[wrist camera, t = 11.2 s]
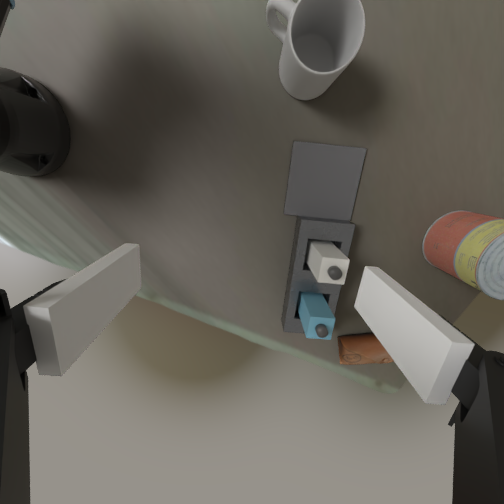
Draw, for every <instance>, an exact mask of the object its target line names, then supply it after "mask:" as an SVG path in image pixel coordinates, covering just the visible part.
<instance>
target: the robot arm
mask: <svg viewBox="0 0 504 504" xmlns="http://www.w3.org/2000/svg"><path fill="white" fill-rule="evenodd" d="M14 7H15V1H14V0H0V36H1V33H2V31H3V28H4V25H5V22H6V20H7V17H8V14H9V11H10V9H12V10H13V9H14ZM69 146H70V132H69V126H68V122H67V119H66V117H65V114H64V112H63V110H62V108H61V106H60V105H59V103H58V102H57V100H56V99H55V98H54V96H53V95H52V94H51V93H50V92H49V91H48V90H47V89H46V88H45V87H44V86H43V85H41V84H40V83H39V82H37V81H35V80H34V79H32V78H30V77H28V76H25V75H23V74H21V73H18V72H16V71H13V70H10V69H6V68H1V67H0V171H3V172H6V173H10V174H13V175H19V176H40V175H45V174H49V173H51V172H53V171H54V170H56V169H57V168H58V167H60V165H61V164H62V163H63V162H64V160H65V158H66V156H67V154H68V151H69ZM140 289H141V269H140V249H139V244H130V243H125V244H123V245H122V246H120V247H118V248H117V249H115V250H113V251H112V252H110V253H109V254H107V255H105V256H104V257H102V258H100V259H99V260H97V261H96V262H94V263H92V264H91V265H89V266H87V267H86V268H84V269H83V270H81V271H79V272H78V273H76V274H74V275H73V276H71V277H70V278H68V279H64V280H62V281H59V282H56V283H53V284H51V285H50V286H48V287H46V288H45V289H43V291H40V292H38V293H37V294H35V295H34V296H31V297H30V298H28V299H26V300H24V301H23V302H21V303H19V304H18V305H16V306H14V307H13V308H11V309H10V305H9V301H8V298H7V293H6V292H5V290H3V289H0V504H30V466H29V465H30V462H29V405H28V376H27V372H26V370H27V369H28V368H29V367H30V366H31V365H32V364H33V363H34V362H35V361H36V363H37V368H38V372H39V375H51V376H62V375H63V374H64V373H65V372H66V371H67V370H68V369H69V368H70V366H71V365H72V364H73V363H74V362H75V361H76V360H77V358H78V357H79V356H80V355H81V354H82V353H83V352H84V351H85V350H86V349H87V348H88V346H89V345H90V344H91V343H92V342H93V341H94V340H95V339H96V338H97V336H98V335H99V334H100V333H101V332H102V331H103V330H104V329H105V327H106V326H107V325H108V324H109V323H110V322H111V321H112V320H113V318H115V316H116V315H117V314H118V313H119V312H120V311H121V310H122V309H123V308H124V306H125V305H126V304H127V303H128V302H129V301H130V300H131V299H132V298H133V297H134V295H135V294H136V293H137V292H138V291H139V290H140ZM354 307H355V308H356V310H357V311H358V313H359V314H360V315H361V317H362V318H363V319H364V321H365V322H366V323H367V325H368V326H369V328H370V329H371V330H372V332H373V333H374V334H375V336H376V337H377V338H378V340H379V341H380V342H381V344H382V345H383V347H384V348H385V349H386V351H387V352H388V353H389V355H390V356H391V357H392V359H393V360H394V362H395V363H396V364H397V366H398V367H399V368H400V370H401V371H402V372H403V374H404V375H405V377H406V378H407V379H408V381H409V382H410V383H411V385H412V386H413V387H414V389H415V390H416V392H417V393H418V394H419V396H420V397H421V398H422V400H423V401H424V402H425V403H426V404H440V405H445V404H446V402H447V400H448V398H449V396H450V394H451V392H452V393H453V394H454V395H455V396H456V397H457V398H458V399H459V400H460V402H459V404H458V406H457V408H456V410H455V412H454V414H453V416H452V417H451V419H450V421H449V423H448V425H450V426H452V425H453V424H454V423H455V444H454V445H455V447H454V472H453V473H454V474H453V501H452V504H504V354H503V353H500V352H496V351H486V350H484V349H483V348H482V347H480V346H479V345H478V344H477V343H475V342H474V341H473V340H471V339H470V338H469V337H468V336H466V335H465V334H464V333H463V332H460V330H459V329H457V328H456V327H455V326H452V324H451V323H450V322H449V321H447V320H446V319H445V318H444V317H442V316H440V315H438V314H437V313H435V312H434V311H433V310H431V309H430V308H429V307H428V306H426V305H425V304H424V303H423V302H421V301H420V300H419V299H417V298H416V297H415V296H414V295H412V294H411V293H410V292H409V291H407V290H406V289H405V288H404V287H402V286H401V285H400V284H399V283H397V282H396V281H395V280H394V279H392V278H391V277H390V276H389V275H387V274H386V273H385V272H384V271H382V270H381V269H380V268H379V267H372V266H365V269H364V272H363V276H362V280H361V283H360V287H359V291H358V294H357V298H356V301H355V305H354Z"/></svg>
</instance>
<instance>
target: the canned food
mask: <svg viewBox="0 0 504 504" xmlns="http://www.w3.org/2000/svg"><path fill="white" fill-rule="evenodd" d="M422 250H423V254H424V257H425V259H426V260H427V261H428V262H429V263H430V264H431V265H432V266H434V267H437V268H439V269H441V270H443V271H445V272H447V273H448V274H450V275H452V276H454V277H456V278H458V279H460V280H461V281H463V282H465V283H467V284H469V285H471V286H473V287H474V288H476V289H478V290H480V291H482V292H484V293H485V294H486V295H488V296H490V297H492V298H494V299H498V300H504V219H503V218H498V217H493V216H488V215H483V214H478V213H473V212H470V211H464V210H459V211H453V212H450V213H447V214H445V215H443V216H442V217H440V218H439V219H437V220H436V221H435V222H434V223H433V224H432V225H431V226H430V227H429V229H428V230H427V232H426V234H425V236H424V239H423V244H422Z"/></svg>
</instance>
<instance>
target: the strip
mask: <svg viewBox="0 0 504 504" xmlns="http://www.w3.org/2000/svg"><path fill="white" fill-rule="evenodd" d="M354 229H355V224H353V223H352V222H350V221H348V220H339V219H329V218H318V217H308V216H297V221H296V228H295V234H294V241H293V247H292V254H291V260H290V267H289V273H288V280H287V286H286V293H285V299H284V306H283V312H282V319H281V320H282V326H283V332H294V333H305V332H304V329H303V325H302V322H301V319H300V316H299V313H298V309H297V306H296V305H297V299H298V293H299V291H301V292H312V293H322V295H323V297H324V298H325V300H326V302H327V304H328V306H329V308H330V310H331V311H332V313H333V315H334V314H335V310H336V306H337V302H338V297H339V293H340V289H341V284H331V283H320V282H317V280H316V278H315V277H314V275H313V273H312V271H311V269H310V268H309V266H308V264H307V262H306V261H305V254H306V248H307V243H308V239H317V240H328V241H331V242H332V243H333V244H334V245H335V246H336V247H337V248H338V249H339V250H340V251H341V252H342V253H343V254H344V255H345V256H346V257H348V254H349V250H350V246H351V242H352V237H353V233H354Z"/></svg>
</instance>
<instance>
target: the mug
mask: <svg viewBox="0 0 504 504" xmlns="http://www.w3.org/2000/svg"><path fill="white" fill-rule="evenodd" d="M276 10H277V11H278V12H280V13H281V14H282V15H283V16H284V17H285V18H286V19H287V21H288V26H287V27H286V26H285V25H284V24H282V23H281V21H280V20H279V19H278V17H277V15H276ZM266 20H267V24H268V27H269V28H270V30H271V31H272V33H273V34H274V35H275V36H276V37H277V38H278V39H280V40H281V41H282V42H283V48H282V53H281V57H280V62H279V76H280V80H281V83H282V85H283V87H284V89H285V90H286V91H287V92H288V93H289V94H290V95H291V96H292V97H294V98H296V99H300V100H311V99H314V98H316V97H318V96H320V95H321V94H323V93H324V92H325V91H326V90H327V89H328V88H329V86H330V85H331V84H332V83H333V82H334V81H335V79H336V78H337V77H338V76H339V75H340V74H341V73H342V72H343V71H344V70H345V69H346V67H347V66H348V65H349V64H350V63H351V62H352V60H353V59H354V58H355V56H356V55H357V53H358V51H359V49H360V47H361V44H362V42H363V38H364V33H365V14H364V9H363V6H362V3H361V1H360V0H299V1H298V2H297V4H296V3H294V2H293V1H292V0H269V1H268V4H267V8H266Z"/></svg>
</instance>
